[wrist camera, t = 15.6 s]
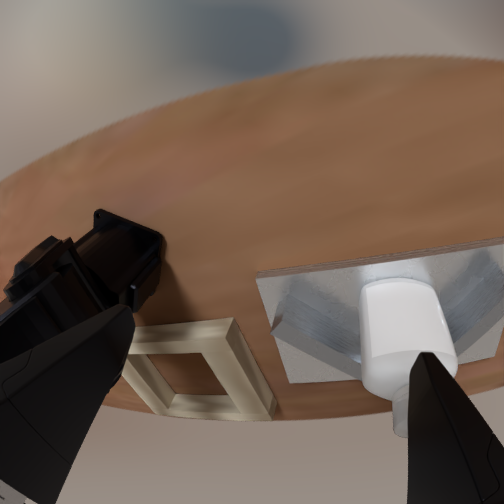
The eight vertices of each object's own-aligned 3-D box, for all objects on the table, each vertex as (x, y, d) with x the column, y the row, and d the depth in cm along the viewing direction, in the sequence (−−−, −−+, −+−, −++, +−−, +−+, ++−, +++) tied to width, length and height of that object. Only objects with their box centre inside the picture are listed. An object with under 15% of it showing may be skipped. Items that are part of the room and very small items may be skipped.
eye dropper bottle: (384, 255, 20) (412, 417, 9) (442, 291, 20) (486, 437, 10) (348, 300, 22) (344, 457, 12) (405, 330, 22) (422, 473, 12)
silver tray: (258, 271, 24) (245, 305, 20) (514, 234, 17) (539, 263, 14) (291, 375, 29) (284, 408, 25) (491, 348, 22) (502, 380, 19)
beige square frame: (163, 399, 37) (155, 414, 35) (109, 328, 32) (97, 343, 30) (277, 402, 32) (272, 420, 29) (233, 317, 26) (225, 337, 24)
